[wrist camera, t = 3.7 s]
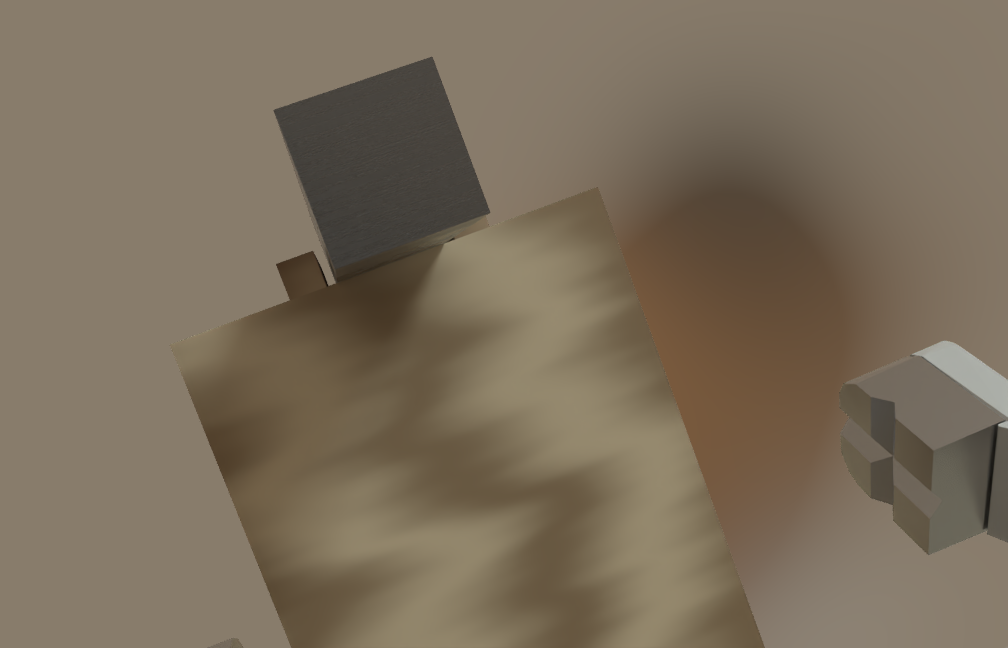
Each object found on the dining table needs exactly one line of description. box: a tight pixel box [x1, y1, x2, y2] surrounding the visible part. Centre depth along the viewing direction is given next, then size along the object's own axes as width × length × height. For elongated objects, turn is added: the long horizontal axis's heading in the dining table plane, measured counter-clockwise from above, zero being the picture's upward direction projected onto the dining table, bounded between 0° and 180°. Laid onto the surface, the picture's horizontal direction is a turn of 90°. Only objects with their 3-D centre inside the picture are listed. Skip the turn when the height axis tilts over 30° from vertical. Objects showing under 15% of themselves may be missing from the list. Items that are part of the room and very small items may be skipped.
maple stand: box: [170, 187, 765, 648], centre depth 31 cm, size 12×10×27 cm
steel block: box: [274, 57, 490, 283], centre depth 27 cm, size 3×21×3 cm, turn 11°
